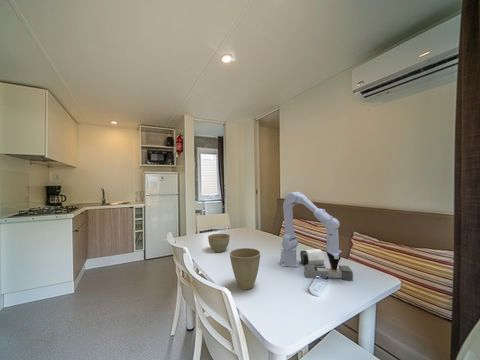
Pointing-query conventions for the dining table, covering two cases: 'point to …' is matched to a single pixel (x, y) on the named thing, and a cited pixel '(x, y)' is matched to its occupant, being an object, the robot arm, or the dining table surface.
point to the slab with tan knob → (332, 272)
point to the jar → (312, 257)
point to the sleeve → (313, 271)
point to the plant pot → (245, 266)
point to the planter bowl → (218, 242)
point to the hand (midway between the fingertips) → (333, 268)
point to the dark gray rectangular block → (346, 273)
